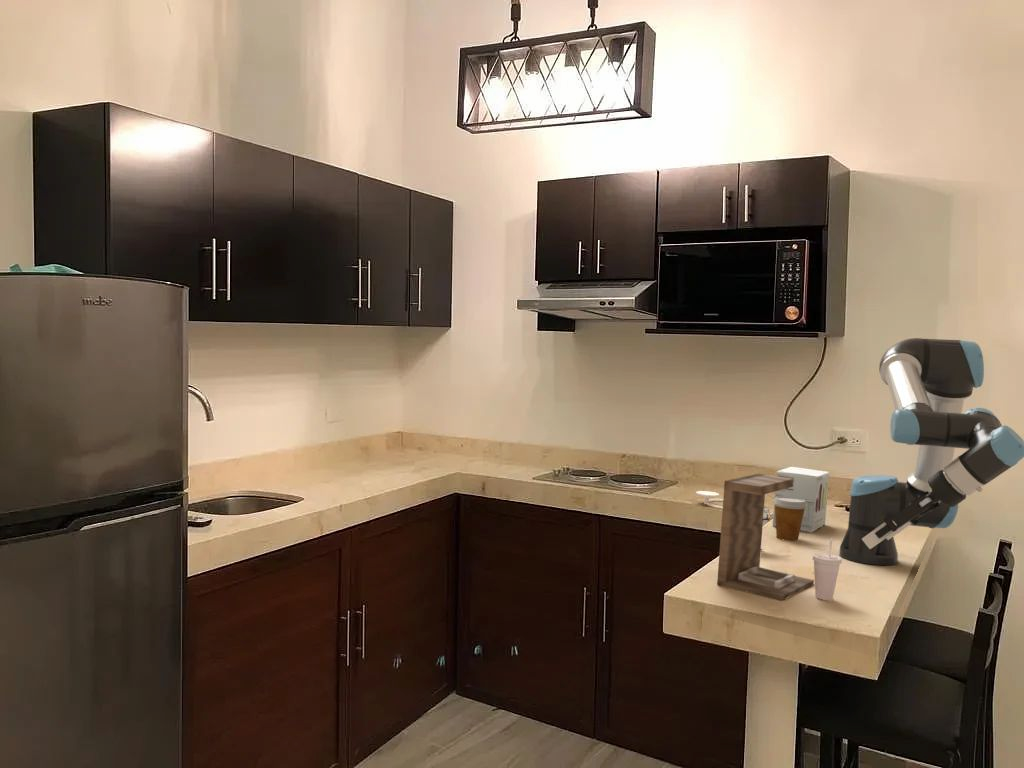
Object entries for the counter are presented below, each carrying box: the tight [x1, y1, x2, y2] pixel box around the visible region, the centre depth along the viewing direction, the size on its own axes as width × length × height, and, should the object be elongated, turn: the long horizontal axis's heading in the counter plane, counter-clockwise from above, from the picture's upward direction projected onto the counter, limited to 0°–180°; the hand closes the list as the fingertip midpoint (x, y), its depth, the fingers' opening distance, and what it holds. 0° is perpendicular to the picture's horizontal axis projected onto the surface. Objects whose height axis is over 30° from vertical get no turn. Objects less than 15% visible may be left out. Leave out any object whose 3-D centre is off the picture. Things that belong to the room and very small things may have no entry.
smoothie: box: [812, 537, 842, 601], centre depth 201 cm, size 6×6×14 cm
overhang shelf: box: [716, 473, 815, 601], centre depth 210 cm, size 20×16×25 cm
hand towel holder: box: [695, 490, 723, 510], centre depth 313 cm, size 17×4×21 cm
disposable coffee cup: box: [773, 497, 806, 542], centre depth 263 cm, size 10×10×12 cm
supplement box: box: [772, 466, 831, 533], centre depth 284 cm, size 17×13×18 cm
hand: (875, 539), depth 194 cm, fingers open, 13 cm apart
